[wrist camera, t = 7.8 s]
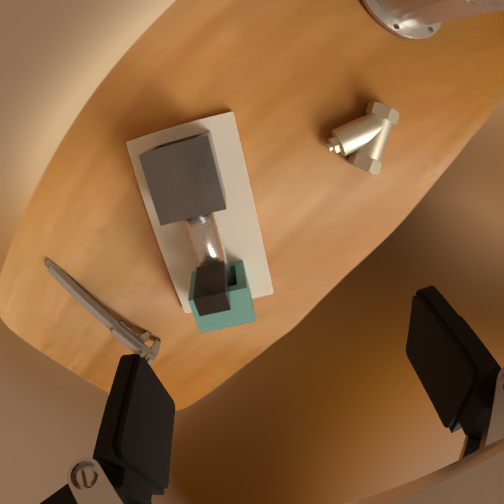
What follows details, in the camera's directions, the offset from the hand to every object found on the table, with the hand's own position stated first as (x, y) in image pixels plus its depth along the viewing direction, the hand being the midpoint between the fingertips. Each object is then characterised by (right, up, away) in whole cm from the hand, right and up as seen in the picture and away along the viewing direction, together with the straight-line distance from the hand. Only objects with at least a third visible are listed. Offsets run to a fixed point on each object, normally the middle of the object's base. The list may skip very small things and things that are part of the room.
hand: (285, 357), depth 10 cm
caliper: (-22, -3, +30) cm, 38 cm away
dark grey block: (-8, +12, +23) cm, 27 cm away
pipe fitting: (+11, +18, +24) cm, 32 cm away
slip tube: (-6, +4, +25) cm, 26 cm away
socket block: (-5, 0, +29) cm, 30 cm away
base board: (-7, +7, +26) cm, 28 cm away
